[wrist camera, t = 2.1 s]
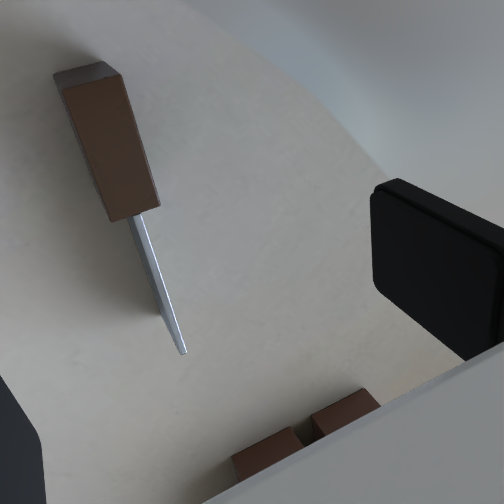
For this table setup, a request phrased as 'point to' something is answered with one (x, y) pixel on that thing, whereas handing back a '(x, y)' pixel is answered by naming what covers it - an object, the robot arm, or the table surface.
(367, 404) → the cake
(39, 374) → the table surface
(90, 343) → the table surface
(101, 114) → the knife
